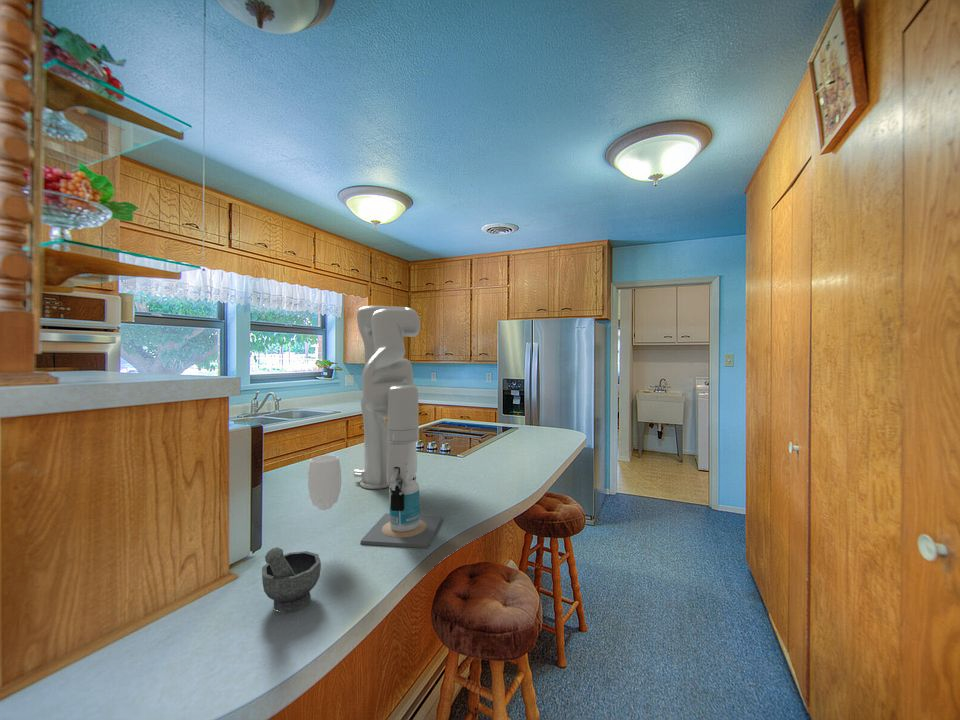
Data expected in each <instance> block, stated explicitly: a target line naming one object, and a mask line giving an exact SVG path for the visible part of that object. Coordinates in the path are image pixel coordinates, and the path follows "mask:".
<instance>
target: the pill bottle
mask: <svg viewBox="0 0 960 720" xmlns="http://www.w3.org/2000/svg"><path fill="white" fill-rule="evenodd" d="M413 477H414V476H413V474H412V477H411V480H410V481H409V482H408V483H406V484H404V489H403V494H404V510H403V511H392V510H391V495H390V487H388V491H389V493H388V495H389V496H388V497H389V498H388V499H389V514H390V527H391V528H392V529H393V530H395V531H398V532H406V531H411V530H414V529H416V528H417V527H418V526H419V524H420V515H421V512H420V510H421V509H420V485H419V483H418V482H417V480H413ZM397 481H402V480H397ZM397 486H398V487H399V489H400V486H401V485H397Z"/></svg>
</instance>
